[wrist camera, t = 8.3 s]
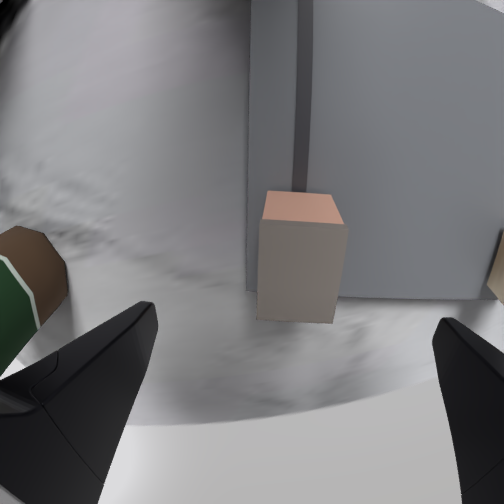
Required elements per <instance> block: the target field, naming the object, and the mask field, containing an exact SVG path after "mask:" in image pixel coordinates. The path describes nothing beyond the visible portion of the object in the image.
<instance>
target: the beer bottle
mask: <svg viewBox="0 0 504 504" xmlns="http://www.w3.org/2000/svg"><path fill="white" fill-rule="evenodd" d="M67 293H68V289H67V281H66V272H65V262H64V260H63V259H62V258H61V256H60V255H59V254H58V252H57V251H56V250H55V248H54V247H53V246H52V244H51V243H50V241H49V240H48V239H47V237H46V236H45V234H44V233H41V232H38V231H34V230H31V229H28V228H24V227H21V226H15V227H13V228H11V229H9V230H7V231H6V232H4V233H2V234H0V376H1V375H2V374H3V373H4V371H5V370H6V369H7V367H8V366H9V365H10V364H11V362H12V361H13V360H14V359H15V357H16V356H17V355H18V354H19V352H20V351H21V350H22V349H23V347H24V346H25V345H26V344H27V343H28V341H29V340H30V339H31V338H32V337H33V335H34V334H35V333H36V332H37V331H38V330H39V328H40V327H41V326H42V325H43V324H44V323H45V321H46V320H47V319H48V318H49V317H50V316H51V315H52V313H53V312H54V311H55V310H56V309H57V308H58V306H59V305H60V304H61V303H62V301H63V300H64V299H65V297H66V296H67Z"/></svg>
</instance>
